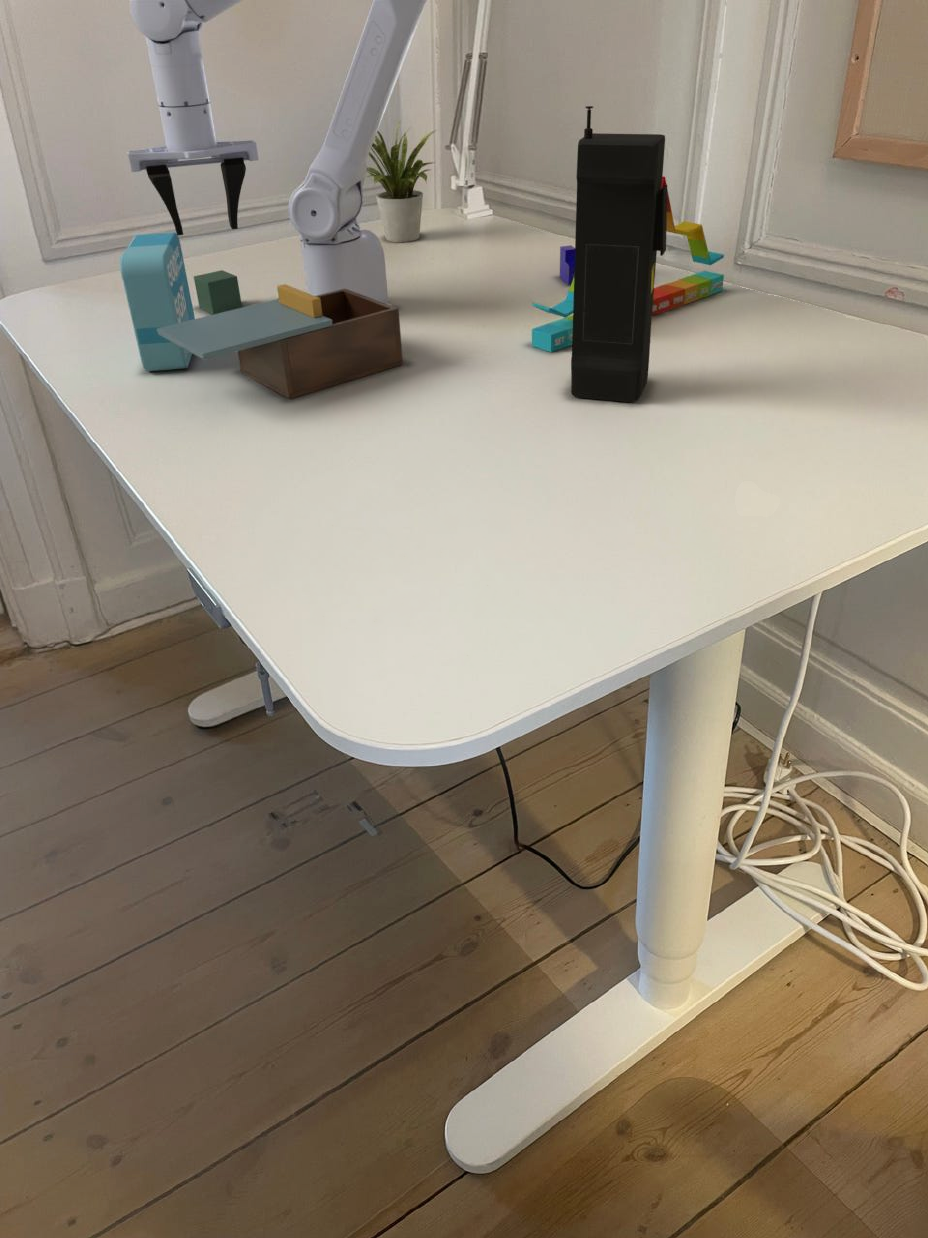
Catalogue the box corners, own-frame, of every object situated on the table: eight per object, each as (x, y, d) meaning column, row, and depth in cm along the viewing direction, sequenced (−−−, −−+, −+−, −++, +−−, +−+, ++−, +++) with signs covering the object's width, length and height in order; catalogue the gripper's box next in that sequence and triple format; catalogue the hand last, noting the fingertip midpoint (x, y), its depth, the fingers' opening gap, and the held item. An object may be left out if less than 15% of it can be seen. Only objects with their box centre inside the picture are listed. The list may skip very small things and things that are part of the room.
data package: (187, 372, 103) (163, 257, 96) (144, 375, 103) (117, 259, 96) (198, 336, 113) (177, 229, 106) (159, 339, 113) (136, 231, 106)
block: (227, 301, 124) (222, 269, 122) (242, 308, 122) (237, 275, 119) (199, 308, 122) (193, 276, 120) (213, 315, 120) (207, 282, 117)
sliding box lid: (281, 303, 102) (278, 280, 101) (333, 325, 96) (330, 301, 94) (157, 334, 95) (152, 309, 94) (204, 360, 89) (199, 334, 87)
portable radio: (658, 382, 96) (682, 100, 82) (647, 404, 92) (670, 110, 78) (581, 375, 99) (591, 100, 84) (567, 397, 94) (575, 109, 80)
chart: (552, 352, 104) (555, 205, 96) (531, 345, 106) (532, 200, 98) (723, 291, 120) (739, 160, 112) (703, 286, 122) (716, 157, 114)
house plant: (337, 250, 144) (324, 128, 134) (360, 227, 155) (349, 113, 146) (430, 250, 142) (424, 127, 132) (447, 227, 153) (442, 112, 143)
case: (350, 341, 110) (345, 288, 106) (403, 364, 103) (398, 308, 100) (240, 372, 103) (231, 316, 99) (289, 399, 96) (280, 340, 93)
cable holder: (568, 284, 125) (569, 252, 123) (559, 277, 128) (560, 246, 125) (626, 278, 126) (628, 246, 124) (616, 271, 129) (617, 240, 127)
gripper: (119, 113, 104) (147, 244, 112) (253, 102, 107) (271, 230, 115) (117, 105, 109) (143, 231, 117) (245, 95, 113) (262, 218, 121)
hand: (207, 230), depth 117 cm, fingers open, 6 cm apart
